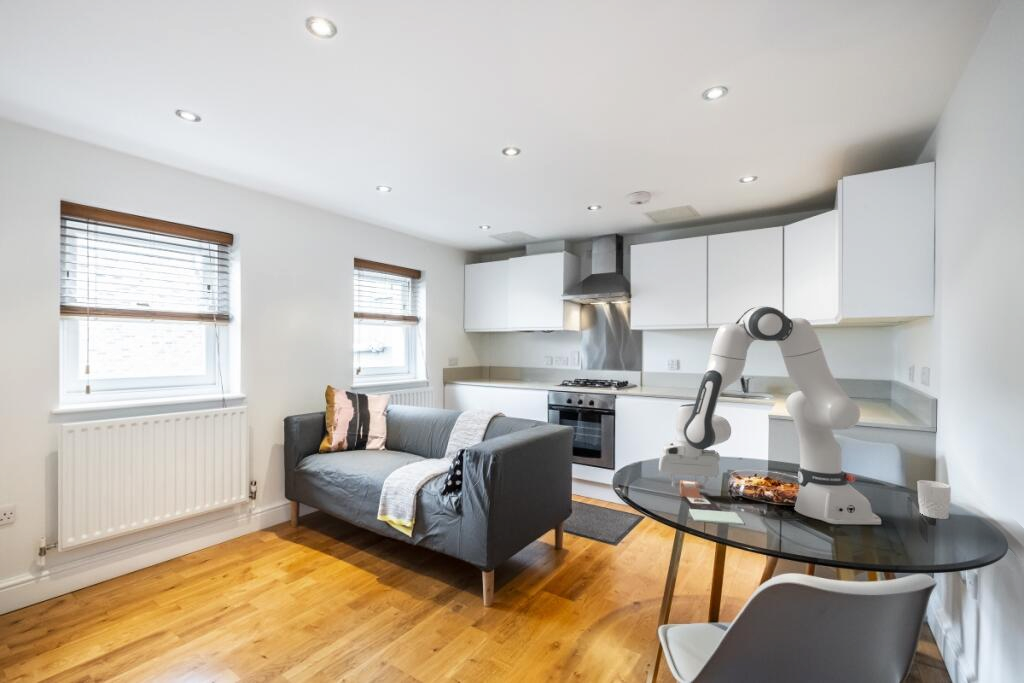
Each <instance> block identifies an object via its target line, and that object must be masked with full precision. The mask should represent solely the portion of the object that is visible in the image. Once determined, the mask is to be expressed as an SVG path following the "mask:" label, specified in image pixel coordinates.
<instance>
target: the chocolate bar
mask: <svg viewBox="0 0 1024 683" xmlns="http://www.w3.org/2000/svg"><path fill="white" fill-rule="evenodd" d="M680 495H681V494H679V496H680ZM681 499H684V500H685V501H684V500H683V501H684V502H685V504H687V506H688V505H689V506H690V507H689V506H688V507H689V509H697V510H711V511H723V510H722V509H721V507H719V506H717V504H716V503H715V502H714V501H713V500H712V499H711V498H710V497H709V496H708V495H706V494H700V498H692V497H682V498H681Z"/></svg>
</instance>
